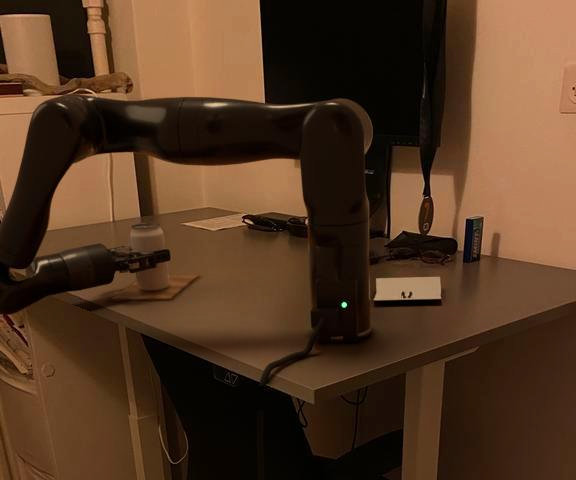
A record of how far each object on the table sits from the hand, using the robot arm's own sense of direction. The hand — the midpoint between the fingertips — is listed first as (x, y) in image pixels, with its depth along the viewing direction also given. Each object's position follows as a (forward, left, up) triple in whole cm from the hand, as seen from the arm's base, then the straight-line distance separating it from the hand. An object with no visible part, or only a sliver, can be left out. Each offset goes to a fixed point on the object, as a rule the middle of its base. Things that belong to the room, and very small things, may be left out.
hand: (159, 252), depth 157 cm
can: (-2, +1, -7) cm, 7 cm away
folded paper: (-9, -50, -7) cm, 51 cm away
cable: (+19, -36, -7) cm, 41 cm away
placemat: (-1, +1, -7) cm, 7 cm away
